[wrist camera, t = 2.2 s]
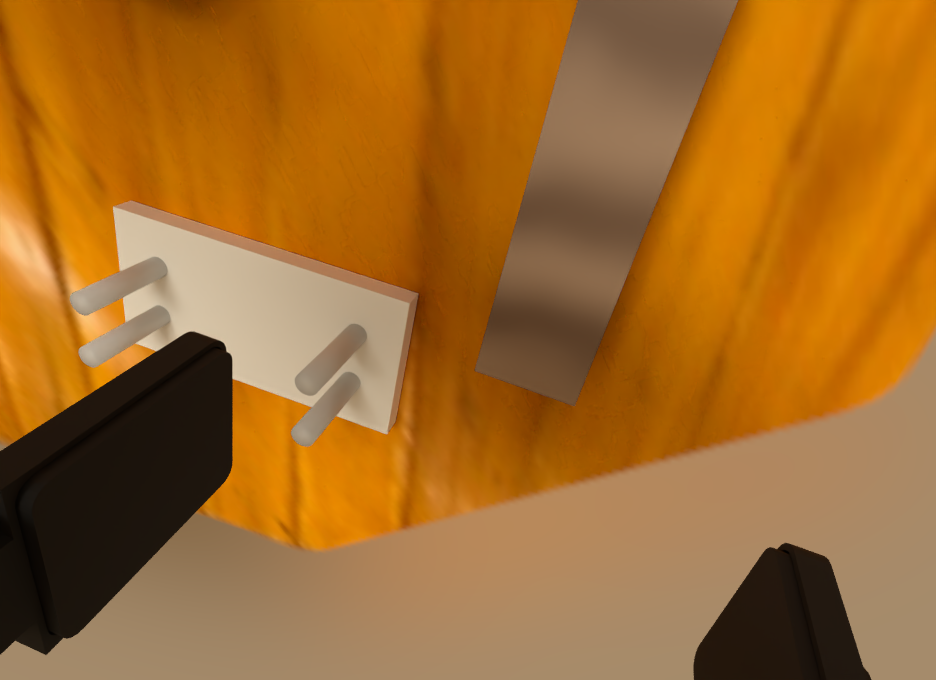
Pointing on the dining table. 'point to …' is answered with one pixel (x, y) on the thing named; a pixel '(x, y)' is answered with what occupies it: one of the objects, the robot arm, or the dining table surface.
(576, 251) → the wooden block
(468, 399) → the dining table surface
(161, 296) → the peg stand
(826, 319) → the dining table surface
